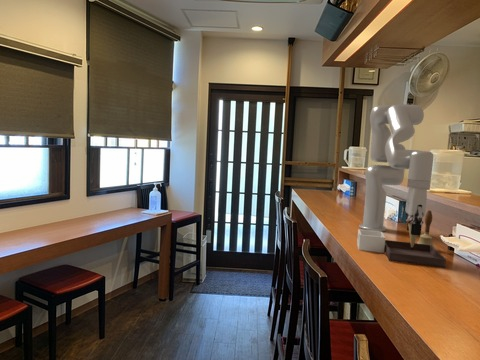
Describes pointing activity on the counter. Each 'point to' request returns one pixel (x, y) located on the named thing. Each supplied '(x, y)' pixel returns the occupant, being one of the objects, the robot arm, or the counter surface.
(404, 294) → the counter surface
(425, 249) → the tray
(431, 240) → the hand bell
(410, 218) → the ice cream cone
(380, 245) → the frame
